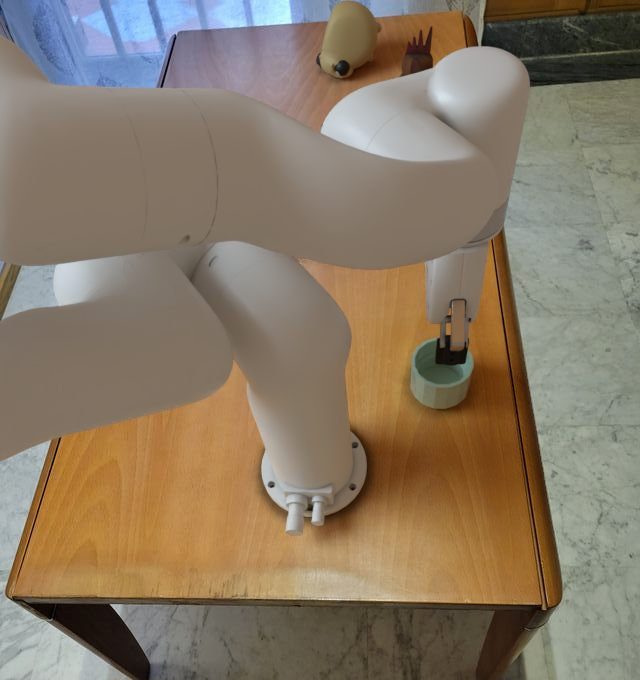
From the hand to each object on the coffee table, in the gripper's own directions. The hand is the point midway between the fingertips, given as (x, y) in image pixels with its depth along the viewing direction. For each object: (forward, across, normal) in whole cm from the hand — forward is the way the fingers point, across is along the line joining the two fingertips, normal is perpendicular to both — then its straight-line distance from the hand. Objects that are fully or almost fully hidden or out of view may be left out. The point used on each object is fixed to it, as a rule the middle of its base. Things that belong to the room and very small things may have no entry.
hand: (448, 326), depth 70 cm
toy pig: (+12, -70, -15) cm, 72 cm away
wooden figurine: (+12, -54, -3) cm, 55 cm away
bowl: (+12, 0, 0) cm, 12 cm away
